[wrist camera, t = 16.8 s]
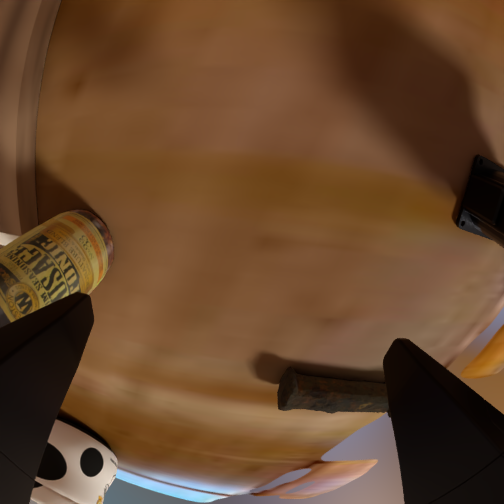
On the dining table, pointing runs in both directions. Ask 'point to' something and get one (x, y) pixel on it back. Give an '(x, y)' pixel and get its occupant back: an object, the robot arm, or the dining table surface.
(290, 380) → the hand tool
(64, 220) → the sauce bottle
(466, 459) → the robot arm
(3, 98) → the walnut board
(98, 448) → the milk container
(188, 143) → the dining table surface
